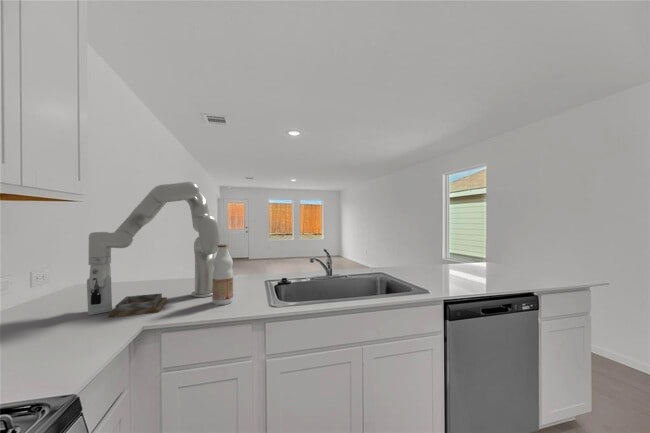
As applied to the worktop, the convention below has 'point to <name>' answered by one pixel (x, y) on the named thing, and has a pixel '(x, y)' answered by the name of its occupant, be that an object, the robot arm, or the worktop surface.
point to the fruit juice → (222, 277)
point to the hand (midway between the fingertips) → (99, 301)
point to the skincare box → (105, 299)
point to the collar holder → (139, 305)
